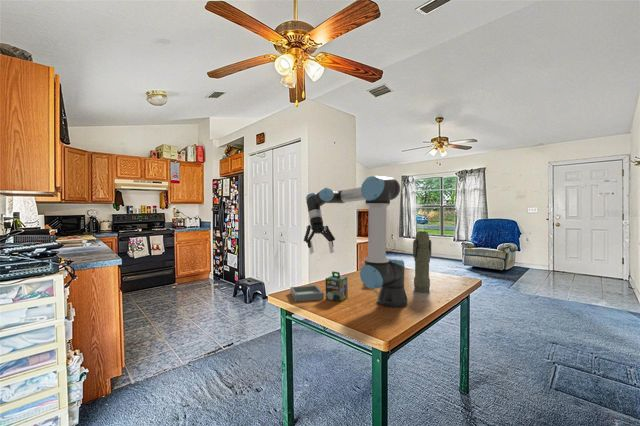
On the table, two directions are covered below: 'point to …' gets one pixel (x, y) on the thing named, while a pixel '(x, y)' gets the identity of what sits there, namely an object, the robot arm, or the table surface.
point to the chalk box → (336, 287)
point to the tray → (306, 293)
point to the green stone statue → (422, 261)
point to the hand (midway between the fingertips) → (322, 252)
